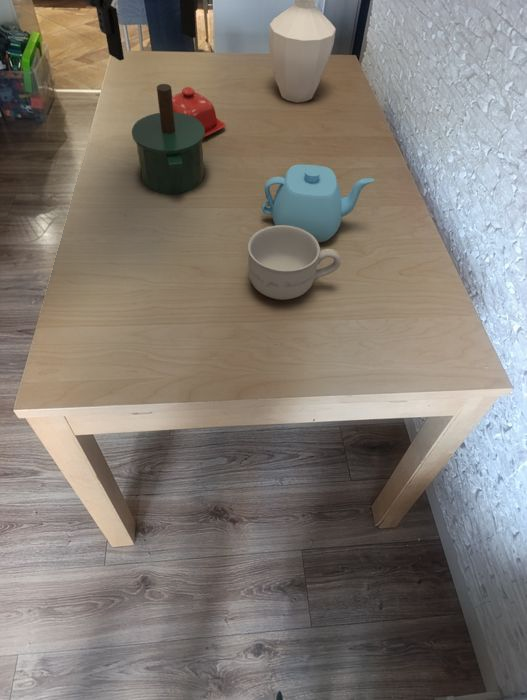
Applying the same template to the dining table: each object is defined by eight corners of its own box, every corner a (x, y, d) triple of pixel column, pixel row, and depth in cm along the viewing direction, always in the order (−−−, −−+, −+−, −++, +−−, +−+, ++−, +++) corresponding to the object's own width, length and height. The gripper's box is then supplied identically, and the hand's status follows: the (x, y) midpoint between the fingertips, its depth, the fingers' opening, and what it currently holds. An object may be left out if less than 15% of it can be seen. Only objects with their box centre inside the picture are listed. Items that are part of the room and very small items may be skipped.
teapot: (377, 199, 77) (261, 189, 77) (363, 252, 86) (258, 243, 86) (372, 154, 85) (266, 145, 85) (360, 206, 93) (263, 198, 93)
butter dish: (228, 130, 107) (228, 89, 100) (188, 150, 102) (185, 109, 95) (193, 109, 112) (190, 69, 105) (152, 127, 106) (146, 86, 99)
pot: (147, 205, 90) (140, 163, 84) (137, 153, 100) (131, 111, 93) (210, 198, 92) (209, 156, 86) (195, 148, 102) (193, 107, 96)
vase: (327, 110, 114) (347, -21, 95) (265, 106, 114) (272, -26, 94) (324, 81, 123) (342, -45, 103) (266, 77, 123) (273, -49, 103)
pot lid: (136, 159, 85) (128, 109, 78) (129, 121, 93) (121, 71, 86) (210, 153, 88) (209, 103, 81) (198, 115, 95) (195, 67, 88)
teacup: (238, 301, 77) (239, 262, 71) (255, 255, 84) (258, 216, 77) (327, 320, 76) (336, 282, 69) (338, 272, 82) (346, 233, 76)
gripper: (57, -132, 53) (97, 76, 70) (231, -148, 65) (230, 34, 81) (21, -146, 56) (68, 57, 73) (194, -159, 68) (200, 19, 85)
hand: (154, 45), depth 77 cm, fingers open, 13 cm apart
